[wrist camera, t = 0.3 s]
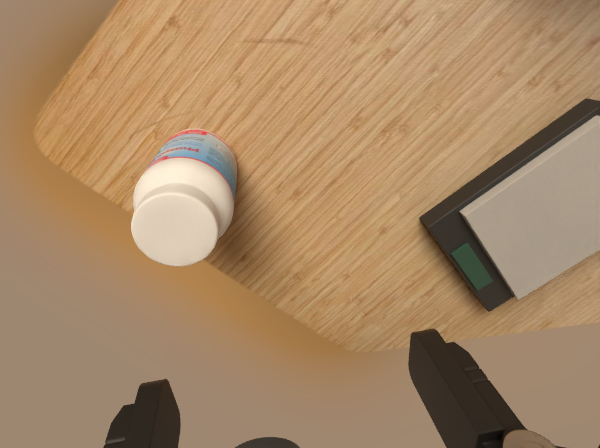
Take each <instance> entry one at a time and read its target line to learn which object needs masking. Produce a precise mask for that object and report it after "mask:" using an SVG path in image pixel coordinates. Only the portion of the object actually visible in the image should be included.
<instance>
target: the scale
mask: <svg viewBox="0 0 600 448" xmlns="http://www.w3.org/2000/svg"><path fill="white" fill-rule="evenodd" d="M420 220H421V221H422V223H423V224H424V225H425V227H426V228H427V230H428V231H429V232H430V234H431V235H432V237H433V238H434V239H435V241H436V242H437V243H438V245H439V246H440V248H441V249H442V250H443V252H444V253H445V254H446V256H447V257H448V259H449V260H450V261H451V263H452V264H453V265H454V267H455V268H456V270H457V271H458V272H459V274H460V275H461V277H462V278H463V279H464V281H465V282H466V283H467V285H468V286H469V288H470V289H471V290H472V292H473V293H474V294H475V296H476V297H477V299H478V300H479V301H480V302H481V304H482V305H483V306H484V307H485V308H486V309H487V311H489V312H490V311H491V310H493V309H494V308H496V307H498V306H499V305H501V304H503V303H504V302H506V301H507V300H509V299H511V298H512V297H514V296H515V297H516V298H517V299H518V300H519V299H521V298H523V297H524V296H526V295H527V294H529V293H531V292H532V291H534V290H536V289H537V288H539V287H540V286H542V285H544V284H545V283H547V282H548V281H550V280H552V279H553V278H555V277H557V276H558V275H560V274H561V273H563V272H565V271H566V270H568V269H569V268H571V267H573V266H574V265H576V264H578V263H579V262H581V261H582V260H584V259H586V258H587V257H589V256H590V255H592V254H594V253H595V252H597V251H599V250H600V101H596V100H591V99H585V100H583V101H582V102H580V103H579V104H578V105H576V106H575V107H573V108H572V109H571V110H569V111H568V112H566V113H565V114H564V115H562V116H561V117H559V118H558V119H557V120H555V121H554V122H552V123H551V124H550V125H548V126H547V127H545V128H544V129H543V130H541V131H540V132H538V133H537V134H536V135H534V136H533V137H531V138H530V139H529V140H527V141H526V142H524V143H523V144H522V145H520V146H519V147H517V148H516V149H515V150H513V151H512V152H511V153H509V154H508V155H506V156H505V157H504V158H502V159H501V160H499V161H498V162H497V163H495V164H494V165H492V166H491V167H490V168H488V169H487V170H485V171H484V172H483V173H481V174H480V175H478V176H477V177H476V178H474V179H473V180H471V181H470V182H469V183H467V184H466V185H464V186H463V187H462V188H460V189H459V190H457V191H456V192H455V193H453V194H452V195H450V196H449V197H448V198H446V199H445V200H443V201H442V202H441V203H439V204H438V205H436V206H435V207H434V208H432V209H431V210H429V211H428V212H427V213H425V214H424V215H422V216H421V217H420Z"/></svg>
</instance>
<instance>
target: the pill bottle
mask: <svg viewBox="0 0 600 448" xmlns="http://www.w3.org/2000/svg"><path fill="white" fill-rule="evenodd" d="M236 182H237V161H236V157H235V155H234V152H233V151H232V149H231V148H230V146H229V145H228V144H227V143H226V142H225V141H224V140H223V139H221V138H220V137H219V136H217V135H216V134H214V133H212V132H209V131H207V130H203V129H187V130H183V131H180V132H178V133H176V134H174V135H173V136H172V137H170V138H169V139H168V140H167V142H166V143H165V144H164V145H163V147H162V148H161V149H160V151H159V152H158V154H157V155H156V156H155V158H154V159H153V160H152V162H151V163H150V164H149V166H148V167H147V169H146V170H145V172H144V173H143V175H142V176H141V178H140V179H139V181H138V183H137V185H136V187H135V191H134V196H133V206H134V215H133V218H132V223H131V231H132V235H133V239H134V241H135V243H136V244H137V246H138V247H139V248H140V250H141V251H142V252H143V253H144V254H145V255H147V256H148V257H150V258H151V259H152V260H154V261H156V262H158V263H161V264H164V265H169V266H176V267H177V266H178V267H179V266H188V265H192V264H195V263H197V262H199V261H201V260H203V259H204V258H206V257H207V256H208V255H209V254H210V253H211V251H212V250H213V249H214V247H215V245H216V243H217V240H218V239H219V238H220V237H221V236H222V235H223V234H224V233H225V231H226V230H227V228H228V227H229V225H230V223H231V220H232V216H233V212H234V203H235V192H236Z"/></svg>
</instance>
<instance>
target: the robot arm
mask: <svg viewBox="0 0 600 448" xmlns="http://www.w3.org/2000/svg"><path fill="white" fill-rule="evenodd" d="M409 372H410V376H411V379H412V381H413V384H414V386H415V388H416V389H417V391H418V393H419V395H420V397H421V399H422V401H423V403H424V405H425V407H426V409H427V411H428V412H429V415H430V416H431V418H432V420H433V422H434V424H435V426H436V428H437V430H438V432H439V434H440V435H441V438H442V440H443V442H444V443H445V445H446V447H447V448H564V447H558V446H555V445H553V444H552V443H551V442H550V441H549V440H547V439H546V438H545V437H543V436H541V435H539V434H537V433H535V432H532V431H528V430H527V429H526V428H525V427H524V426H523V425H522V423H521V422H520V421H519V420H518V418H517V417H516V415H515V414H514V413H513V411H512V410H511V409H510V407H509V406H508V405H507V403H506V402H505V401H504V399H503V398H502V397H501V395H500V394H499V393H498V391H497V390H496V389H495V387H494V386H493V385H492V383H491V382H490V381H488V379H487V377H486V375H485V374H484V373H483V371H482V370H481V369H479V366H478V364H477V363H476V362H475V361H474V359H473V358H472V356H471V355H470V354H469V353H468V352H467V351H466V350H464V349H463V348H462V347H460V346H459V345H458V344H456V343H455V342H451V343H445V341H444V340H443V338H442V337H441V335H440V334H439V333H438V331H437V330H435V329H429V330H423V331H418V332H413V333H412V334H411V339H410V352H409ZM179 435H180V413H179V409H178V406H177V403H176V400H175V398H174V395H173V392H172V389H171V387H170V384H169V381H168V380H167V379H163V380H158V381H153V382H147V383H142V384H141V385H140V386H139V389H138V393H137V396H136V400H135V403H134V404H130V405H124V406H123V407H122V409H121V410H120V411H119V413H118V414H117V416H116V417H115V418H114V420H113V422H112V423H111V425H110V429H109V432H108V435H107V438H106V441H105V442H106V444H105V445H104V448H178V442H179ZM598 448H600V445H599V447H598Z"/></svg>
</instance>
